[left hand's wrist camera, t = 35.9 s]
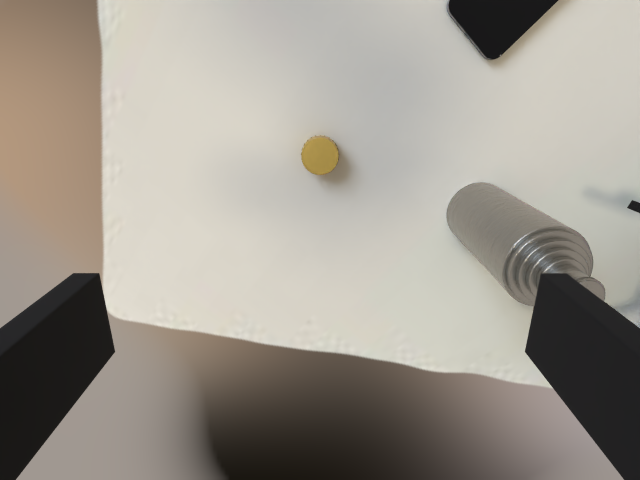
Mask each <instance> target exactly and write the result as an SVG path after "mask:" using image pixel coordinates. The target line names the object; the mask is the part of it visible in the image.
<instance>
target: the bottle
mask: <svg viewBox="0 0 640 480" xmlns="http://www.w3.org/2000/svg"><path fill="white" fill-rule="evenodd" d="M447 222H448V225H449V227H450V229H451V231H452V232H453V233H454V234H455V235H456V236H457V238H458V239H459V240H460V241H461V242H462V243H463V244H464V245H465V246H466V247H467V248H468V250H469V251H470V252H471V253H472V254H473V255H474V256H475V257H476V258H477V259H478V260H479V262H480V263H481V264H482V265H483V266H484V267H485V268H486V269H487V270H488V271H489V272H490V274H491V275H492V276H493V277H494V278H495V279H496V280H497V281H498V282H499V283H500V284H501V285H502V287H503V288H504V289H505V290H506V291H507V292H508V293H509V294H510V295H511V296H512V297H513V298H514V299H515V300H517V301H519V302H521V303H523V304H526V305H530V306H534V305H535V300H536V295H537V290H538V285H539V280H540V275H541V273H567V274H568V275H569V276H571V277H572V278H573V279H575V280H576V281H577V282H579V283H580V284H581V285H583V286H584V287H585V288H587V289H588V290H589V291H591V292H592V293H593V294H595V295H596V296H597V297H599V298H600V299H601V300H603V301H604V299H605V288H604V286H603V285H602V284H601V282H599V281H597V280H596V279H595V278H593V277H590V276H591V272H592V268H593V257H592V253H591V250H590V247H589V245H588V243H587V241H586V240H585V238H584V237H583V236H582V235H581V234H579V233H578V232H577V231H575V230H573V229H571V228H569V227H568V226H566V225H564V224H562V223H561V222H559V221H557V220H555V219H553V218H552V217H550V216H548V215H546V214H545V213H543V212H541V211H539V210H537V209H536V208H534V207H532V206H530V205H528V204H527V203H525V202H523V201H521V200H520V199H518V198H516V197H514V196H512V195H511V194H509V193H507V192H505V191H503V190H502V189H500V188H498V187H496V186H494V185H492V184H489V183H475V184H471V185H468V186H466V187H464V188H463V189H461V190H460V191H459V192H458V193H457V194H456V195H455V196H454V197H453V198H452V200H451V202H450V204H449V206H448V210H447Z"/></svg>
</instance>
